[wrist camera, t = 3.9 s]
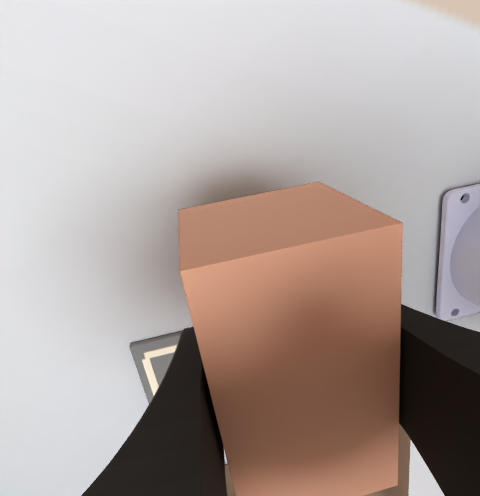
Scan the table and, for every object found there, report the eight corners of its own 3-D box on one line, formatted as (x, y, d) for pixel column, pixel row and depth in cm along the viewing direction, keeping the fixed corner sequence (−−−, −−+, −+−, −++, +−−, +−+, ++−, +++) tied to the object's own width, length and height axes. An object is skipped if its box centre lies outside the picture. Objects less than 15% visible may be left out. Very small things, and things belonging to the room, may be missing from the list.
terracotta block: (318, 181, 11) (402, 222, 7) (332, 376, 14) (397, 485, 10) (177, 209, 11) (179, 271, 7) (223, 405, 14) (244, 530, 10)
